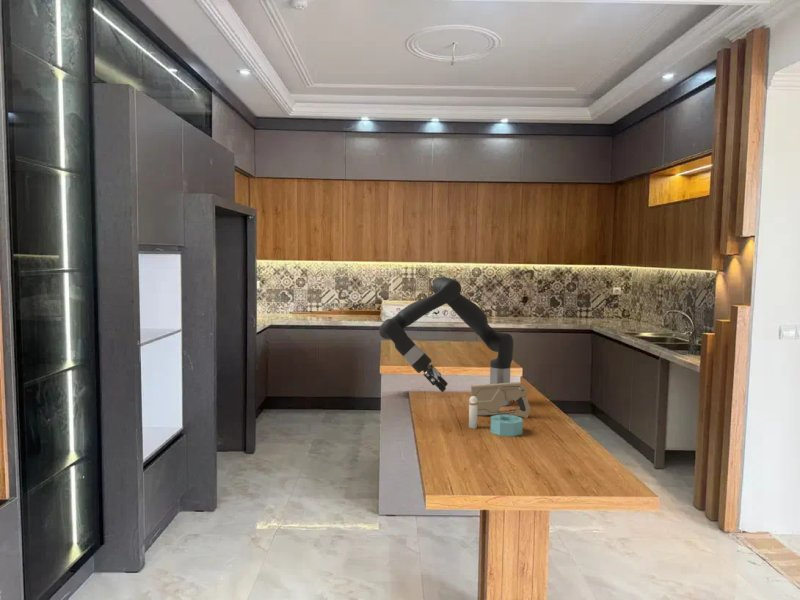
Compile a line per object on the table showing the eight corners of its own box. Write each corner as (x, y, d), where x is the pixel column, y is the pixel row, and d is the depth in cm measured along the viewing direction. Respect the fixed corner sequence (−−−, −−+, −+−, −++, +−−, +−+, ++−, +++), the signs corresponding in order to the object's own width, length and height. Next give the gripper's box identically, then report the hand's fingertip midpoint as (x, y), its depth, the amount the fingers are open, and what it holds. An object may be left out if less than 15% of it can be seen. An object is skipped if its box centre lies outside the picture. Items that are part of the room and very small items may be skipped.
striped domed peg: (468, 425, 229) (469, 394, 228) (477, 426, 228) (477, 395, 227) (468, 428, 225) (469, 396, 224) (476, 428, 225) (477, 397, 224)
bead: (490, 426, 229) (490, 413, 228) (521, 427, 227) (521, 415, 226) (490, 435, 217) (490, 422, 216) (522, 437, 215) (523, 424, 214)
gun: (530, 415, 244) (528, 381, 243) (531, 418, 241) (529, 383, 240) (473, 418, 247) (470, 384, 246) (473, 420, 243) (471, 386, 242)
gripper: (421, 355, 221) (450, 385, 220) (426, 349, 235) (453, 378, 234) (408, 368, 222) (436, 398, 221) (413, 361, 236) (440, 390, 235)
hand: (445, 388), depth 227 cm, fingers open, 8 cm apart
